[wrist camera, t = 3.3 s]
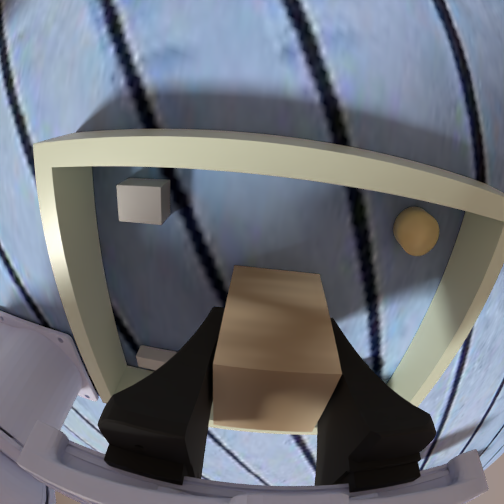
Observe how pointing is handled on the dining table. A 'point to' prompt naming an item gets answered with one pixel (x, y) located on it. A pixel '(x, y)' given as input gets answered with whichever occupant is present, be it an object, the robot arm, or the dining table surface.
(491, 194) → the rectangular frame
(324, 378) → the maple block
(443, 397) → the dining table surface
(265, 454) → the dining table surface
